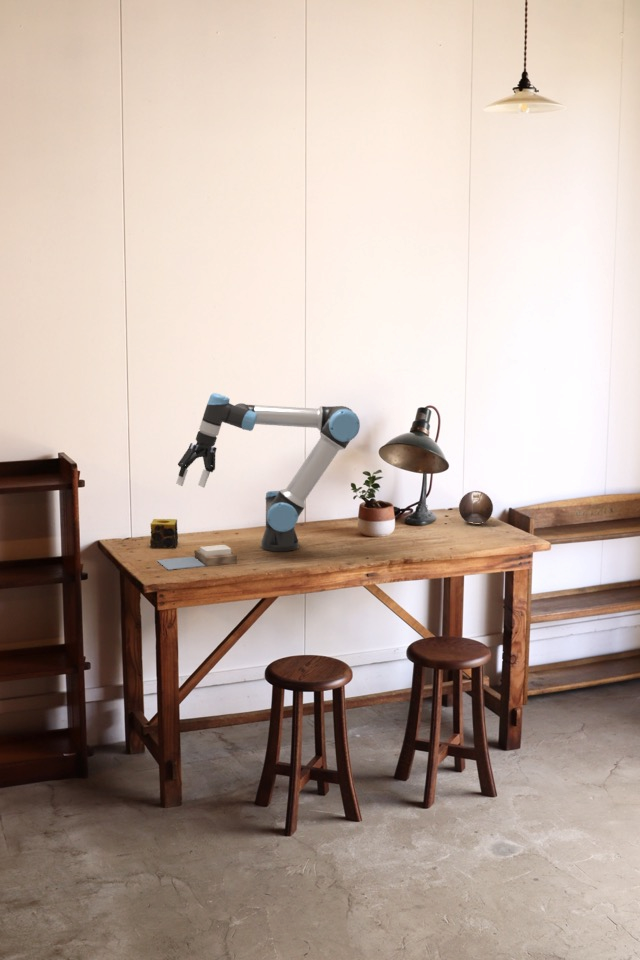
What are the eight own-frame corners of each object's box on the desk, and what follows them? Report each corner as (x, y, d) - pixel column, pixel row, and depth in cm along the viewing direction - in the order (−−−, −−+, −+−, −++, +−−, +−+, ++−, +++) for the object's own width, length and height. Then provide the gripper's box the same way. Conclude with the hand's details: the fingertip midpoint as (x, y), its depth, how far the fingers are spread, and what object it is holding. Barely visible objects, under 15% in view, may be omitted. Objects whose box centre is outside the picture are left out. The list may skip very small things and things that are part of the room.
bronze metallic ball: (462, 528, 467) (463, 494, 464) (455, 520, 481) (456, 488, 479) (495, 527, 468) (497, 494, 465) (487, 520, 483) (489, 488, 480)
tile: (224, 549, 410) (224, 544, 409) (231, 553, 403) (231, 548, 403) (200, 551, 405) (200, 546, 405) (206, 556, 399) (206, 551, 399)
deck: (224, 554, 414) (224, 547, 413) (236, 563, 401) (236, 555, 401) (194, 557, 409) (194, 550, 408) (206, 566, 396) (206, 558, 396)
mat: (193, 557, 408) (193, 556, 408) (205, 566, 396) (205, 565, 396) (157, 561, 402) (157, 560, 402) (168, 570, 390) (168, 569, 390)
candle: (175, 548, 422) (175, 524, 420) (150, 548, 422) (149, 524, 420) (178, 542, 432) (178, 518, 430) (153, 542, 432) (153, 518, 430)
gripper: (220, 433, 416) (203, 483, 419) (180, 427, 394) (162, 480, 397) (234, 439, 412) (217, 490, 415) (195, 434, 391) (177, 487, 394)
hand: (190, 485), depth 406 cm, fingers open, 13 cm apart
